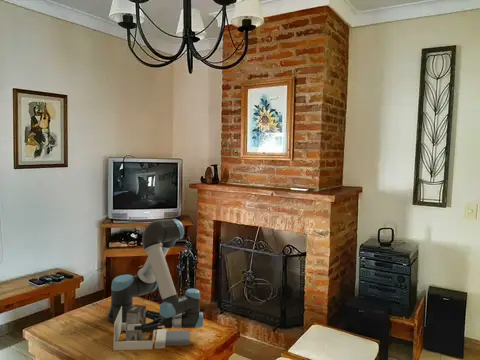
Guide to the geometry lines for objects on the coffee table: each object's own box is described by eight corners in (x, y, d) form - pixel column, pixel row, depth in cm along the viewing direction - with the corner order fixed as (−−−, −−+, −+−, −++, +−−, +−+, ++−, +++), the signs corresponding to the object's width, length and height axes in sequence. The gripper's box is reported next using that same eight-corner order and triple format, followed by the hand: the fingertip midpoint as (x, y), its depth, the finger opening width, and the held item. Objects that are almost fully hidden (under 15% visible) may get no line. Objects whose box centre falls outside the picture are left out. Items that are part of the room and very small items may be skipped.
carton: (120, 330, 196) (121, 306, 196) (166, 329, 200) (167, 305, 199) (113, 350, 177) (114, 323, 176) (164, 348, 180) (165, 322, 179)
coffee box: (134, 334, 193) (135, 304, 192) (145, 336, 192) (146, 305, 191) (125, 342, 184) (126, 311, 183) (137, 344, 183) (138, 312, 182)
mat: (166, 332, 197) (166, 331, 197) (189, 331, 199) (189, 330, 199) (165, 345, 183) (165, 344, 183) (189, 344, 185) (189, 343, 185)
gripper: (171, 339, 178) (125, 340, 175) (173, 317, 202) (132, 317, 199) (172, 324, 177) (125, 325, 174) (173, 303, 202) (133, 303, 199)
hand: (129, 321), depth 187 cm, fingers open, 13 cm apart
